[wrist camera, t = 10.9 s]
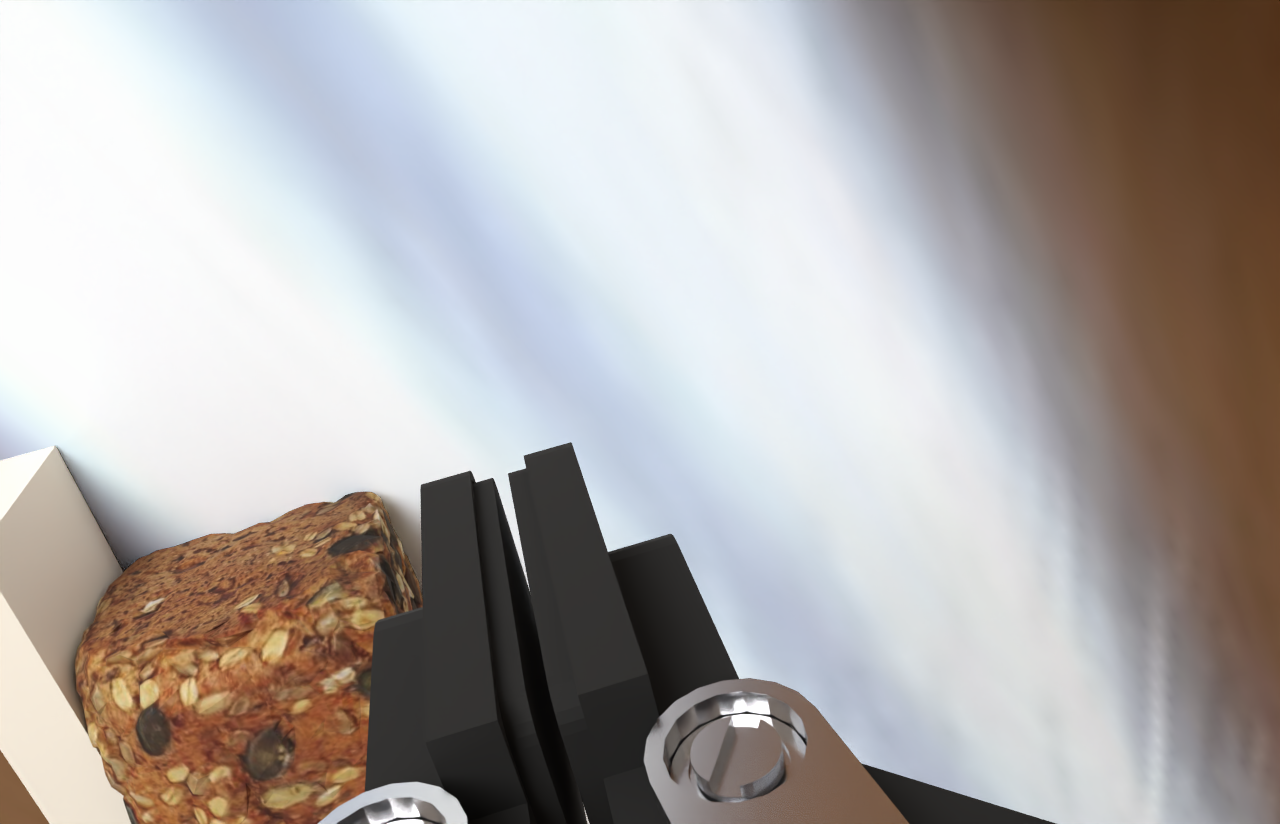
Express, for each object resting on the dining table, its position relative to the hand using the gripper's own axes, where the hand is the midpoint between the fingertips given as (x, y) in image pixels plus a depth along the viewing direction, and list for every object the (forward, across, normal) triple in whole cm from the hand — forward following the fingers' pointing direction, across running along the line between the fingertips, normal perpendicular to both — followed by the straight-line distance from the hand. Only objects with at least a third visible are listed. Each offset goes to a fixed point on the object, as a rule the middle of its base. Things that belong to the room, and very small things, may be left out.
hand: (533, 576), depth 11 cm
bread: (+26, +10, +20) cm, 34 cm away
